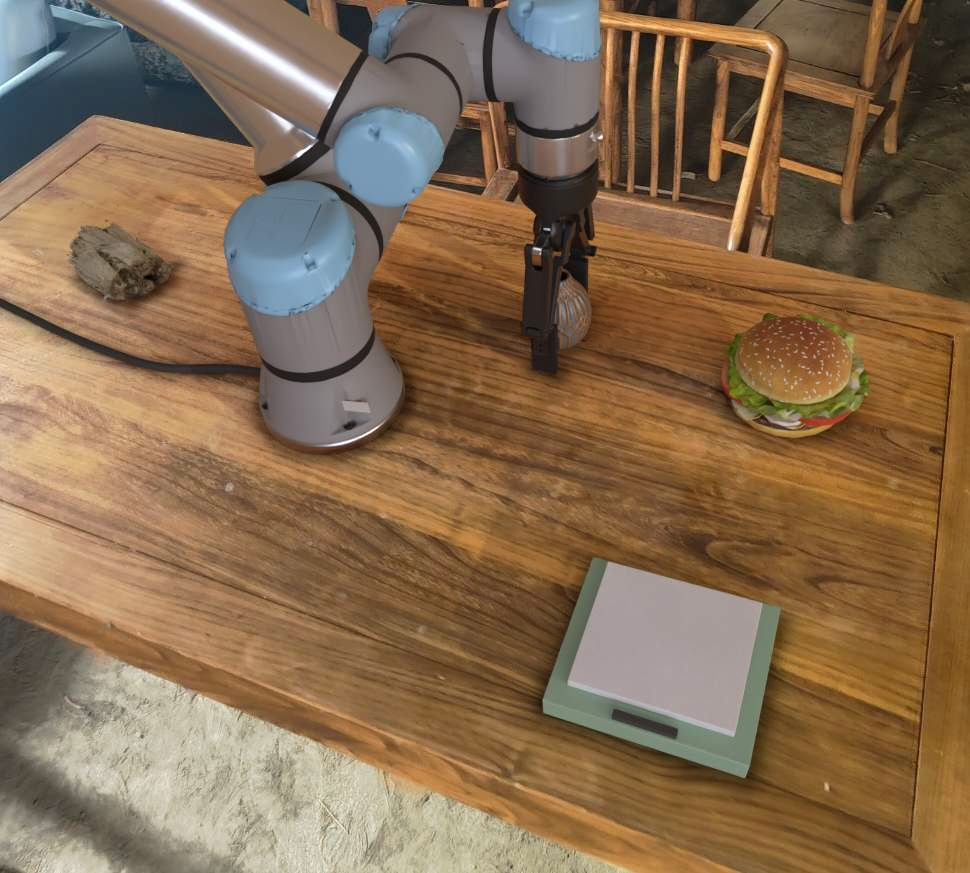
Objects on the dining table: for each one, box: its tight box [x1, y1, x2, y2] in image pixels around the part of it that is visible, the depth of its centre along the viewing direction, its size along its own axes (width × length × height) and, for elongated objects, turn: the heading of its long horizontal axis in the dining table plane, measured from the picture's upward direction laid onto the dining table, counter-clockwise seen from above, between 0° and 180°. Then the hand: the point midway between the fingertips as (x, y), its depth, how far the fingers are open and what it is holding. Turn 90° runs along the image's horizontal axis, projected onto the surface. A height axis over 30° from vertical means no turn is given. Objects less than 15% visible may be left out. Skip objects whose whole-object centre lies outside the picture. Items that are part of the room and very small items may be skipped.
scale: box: [541, 556, 782, 779], centre depth 75 cm, size 16×14×3 cm
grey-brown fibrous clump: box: [65, 219, 175, 304], centre depth 113 cm, size 14×10×5 cm, turn 47°
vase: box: [554, 267, 593, 350], centre depth 99 cm, size 7×7×9 cm
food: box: [720, 312, 871, 439], centre depth 91 cm, size 14×14×8 cm
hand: (560, 335), depth 102 cm, fingers open, 10 cm apart
